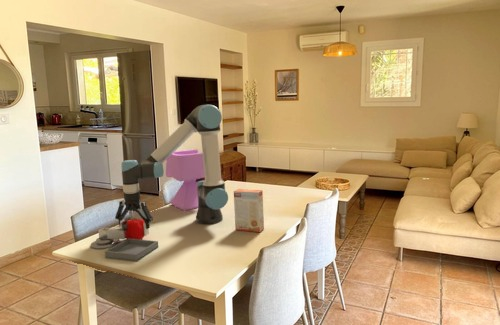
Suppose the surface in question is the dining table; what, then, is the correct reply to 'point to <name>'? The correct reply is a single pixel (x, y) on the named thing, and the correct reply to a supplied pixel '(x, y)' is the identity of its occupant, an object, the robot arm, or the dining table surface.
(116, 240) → the crank base
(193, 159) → the pink table lamp
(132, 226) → the tomato
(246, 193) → the cracker box
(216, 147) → the robot arm
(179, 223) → the dining table surface
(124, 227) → the crank
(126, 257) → the tray
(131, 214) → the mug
